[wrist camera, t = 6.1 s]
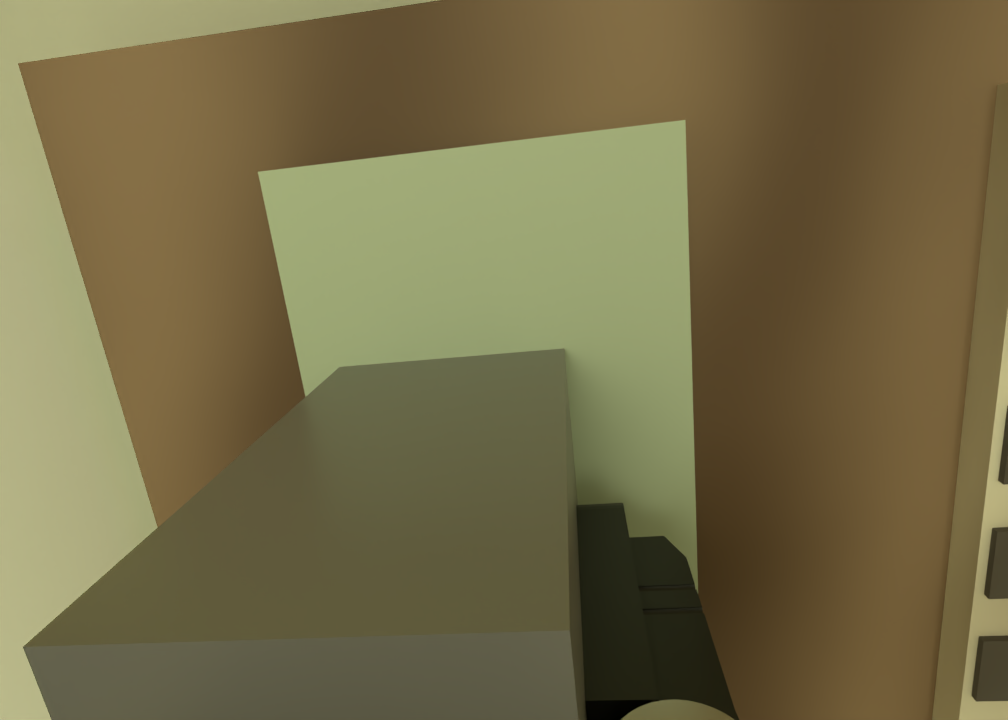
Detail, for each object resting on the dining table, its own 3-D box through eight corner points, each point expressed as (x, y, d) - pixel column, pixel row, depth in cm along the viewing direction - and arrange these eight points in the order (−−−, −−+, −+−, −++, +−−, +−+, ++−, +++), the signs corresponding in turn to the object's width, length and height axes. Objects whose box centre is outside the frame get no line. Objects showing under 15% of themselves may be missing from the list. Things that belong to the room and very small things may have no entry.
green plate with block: (680, 121, 9) (964, 5, 3) (698, 783, 12) (840, 1415, 6) (270, 172, 9) (-278, 173, 3) (396, 784, 13) (244, 1352, 7)
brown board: (1582, -139, 8) (2161, -313, 5) (1293, 774, 13) (1519, 962, 10) (88, 77, 11) (-94, 41, 8) (280, 778, 15) (211, 928, 12)
